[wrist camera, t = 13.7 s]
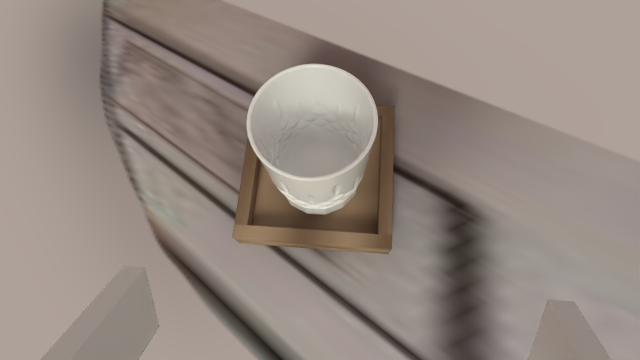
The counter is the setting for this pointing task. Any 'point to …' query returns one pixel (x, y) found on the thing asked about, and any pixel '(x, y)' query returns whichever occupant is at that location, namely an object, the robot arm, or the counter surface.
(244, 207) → the walnut coaster tray
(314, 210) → the white cup
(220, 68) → the counter surface
